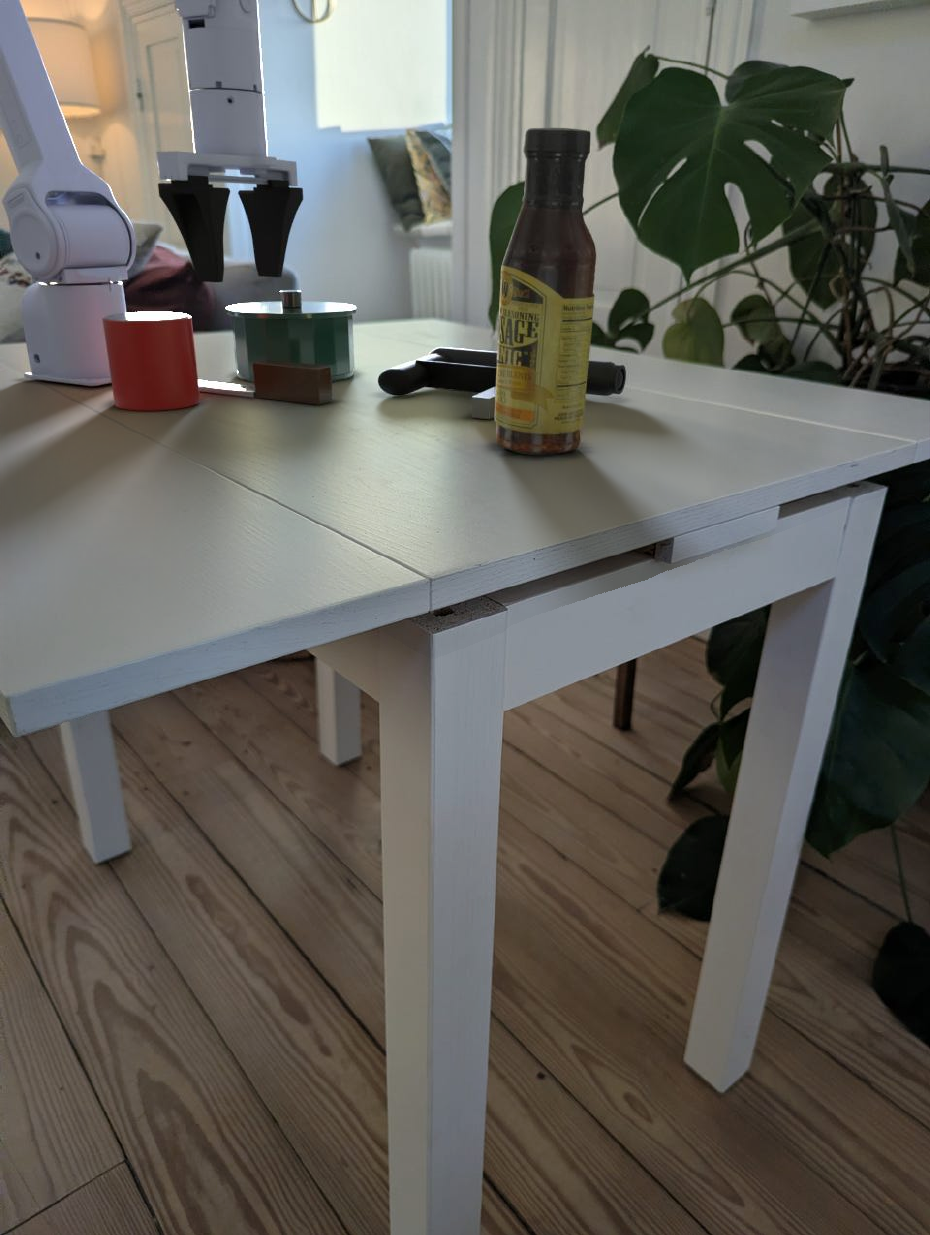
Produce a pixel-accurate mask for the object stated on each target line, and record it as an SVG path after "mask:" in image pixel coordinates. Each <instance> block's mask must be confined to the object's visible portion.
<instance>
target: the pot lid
mask: <svg viewBox="0 0 930 1235" xmlns="http://www.w3.org/2000/svg"><path fill="white" fill-rule="evenodd" d="M279 292H280V301H260V302H259V301H258V302H245V303H237V304H232V305H228V306H226V307H225V312H226V314H227V315H229V316H231V315H232V316H237V317H246V318H261V319H313V318H330V317H340V316H347V315H352V316H353V315H354V314H356V313H357V306H356V305H353V304H348V303H343V302H330V301H307V300H306V301H305V300H304V301H303V299H302V291H301V290H300V289H299V290H298V289H296V290H295V289H285V290H283V289H282V290H280V291H279Z"/></svg>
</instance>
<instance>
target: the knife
mask: <svg viewBox="0 0 930 1235" xmlns="http://www.w3.org/2000/svg"><path fill="white" fill-rule="evenodd" d="M252 366H253V378H254V382H253V385H245V384H237V383H226V382H218V381H208V380H203V379H198V383H199V392H202V393H209V394H218V395H219V394H220V395H225V396H226V395H228V396H236V397H245V398H253V399H254V398H256V399H267V400H275V401H281V402H290V403H300V404H307V405H308V404H309V405H316V406H320V405H324V404H328V403H331V402H333V401H334V398H333V381H332V377H331V366H323V365H313V364H302V363H292V362H282V361H271V360H264V361H259V362H254V363H252Z"/></svg>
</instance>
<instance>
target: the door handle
mask: <svg viewBox="0 0 930 1235" xmlns="http://www.w3.org/2000/svg"><path fill="white" fill-rule="evenodd" d="M496 375H497V351H492V350H481V349H471V348H470V349H469V348H457V347H447V346H438V347H435V348H433V349H432V350H431V351H430V352H429V353H428V355H425V356H423V357H420V358H417V359H413V360H410V361H408V362H405V363H402V364H398V365H396V366H393V367H390V368H387V369H385V370H383V371H381V373H380V374H379V375H378V377H377V385H378V386H379V388H380V390H381V391H382V392H384V393H386V394H388V395H391V396H394V397H400V396H406V395H408V394H411V393H413V392H416V391H419V390H421V389H424V388H429V389H430V388H431V389H439V390H447V391H448V390H449V391H457V392H468V393H476V394H475V395H472V396H471V417H472V418H477V419H484V420H491V419H495V395H496ZM626 380H627V369H626V366H625V365H624V364H617V363H615V362H613V361H608V360H607V361H606V360H598V359H597V360H596V359H589V364H588V375H587V387H586V395H591V396H601V397H609V396H612V395H621V394H622V392H623V391H624V389H625V386H626Z"/></svg>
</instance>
